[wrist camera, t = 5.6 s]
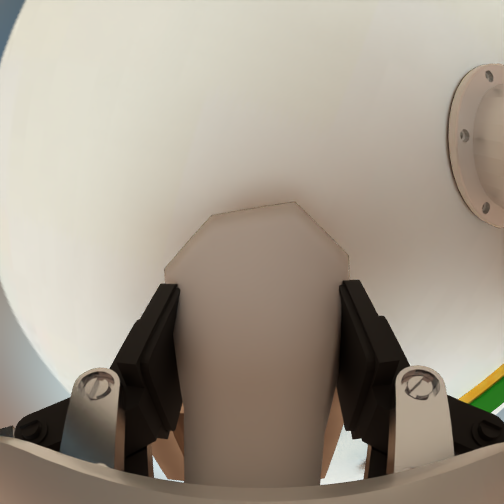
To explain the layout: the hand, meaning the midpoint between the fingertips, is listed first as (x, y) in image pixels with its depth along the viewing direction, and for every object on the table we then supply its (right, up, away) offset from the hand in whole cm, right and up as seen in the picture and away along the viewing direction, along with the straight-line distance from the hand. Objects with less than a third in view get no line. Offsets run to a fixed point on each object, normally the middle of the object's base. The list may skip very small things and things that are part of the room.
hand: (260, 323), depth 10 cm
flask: (0, +1, +2) cm, 2 cm away
